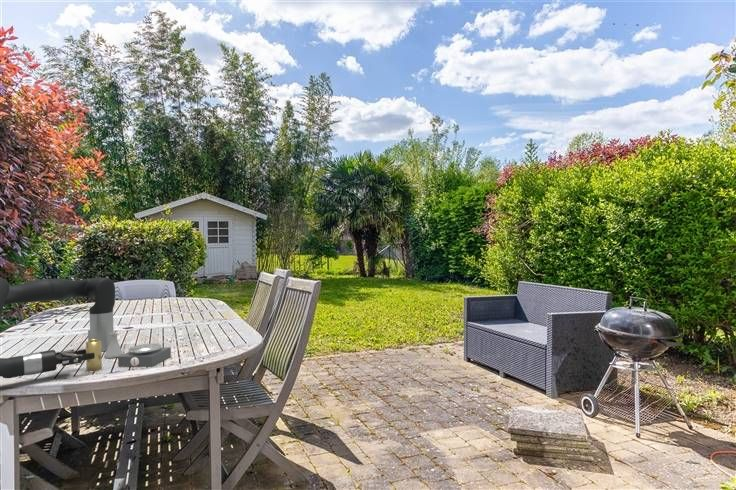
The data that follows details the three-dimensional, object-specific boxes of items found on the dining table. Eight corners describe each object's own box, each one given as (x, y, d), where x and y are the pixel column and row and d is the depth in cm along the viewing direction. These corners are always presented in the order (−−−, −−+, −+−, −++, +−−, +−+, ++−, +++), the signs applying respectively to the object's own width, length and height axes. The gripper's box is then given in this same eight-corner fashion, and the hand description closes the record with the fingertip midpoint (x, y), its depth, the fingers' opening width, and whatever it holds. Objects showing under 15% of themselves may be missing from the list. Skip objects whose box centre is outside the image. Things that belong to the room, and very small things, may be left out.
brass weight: (83, 371, 164) (82, 340, 163) (92, 367, 169) (91, 337, 168) (95, 371, 163) (95, 340, 163) (104, 367, 168) (103, 337, 168)
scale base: (117, 367, 169) (117, 355, 169) (139, 356, 184) (139, 346, 183) (151, 366, 168) (151, 355, 168) (170, 356, 183) (170, 346, 183)
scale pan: (121, 353, 170) (121, 351, 170) (139, 346, 182) (139, 343, 182) (151, 353, 170) (150, 350, 170) (167, 345, 182) (167, 343, 182)
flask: (109, 359, 180) (108, 336, 180) (100, 357, 184) (100, 334, 184) (126, 355, 186) (126, 332, 186) (118, 353, 190) (117, 331, 190)
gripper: (41, 355, 149) (95, 346, 160) (36, 348, 159) (87, 340, 170) (42, 377, 149) (96, 366, 160) (36, 369, 159) (87, 359, 171)
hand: (91, 353), depth 165 cm, fingers open, 8 cm apart
